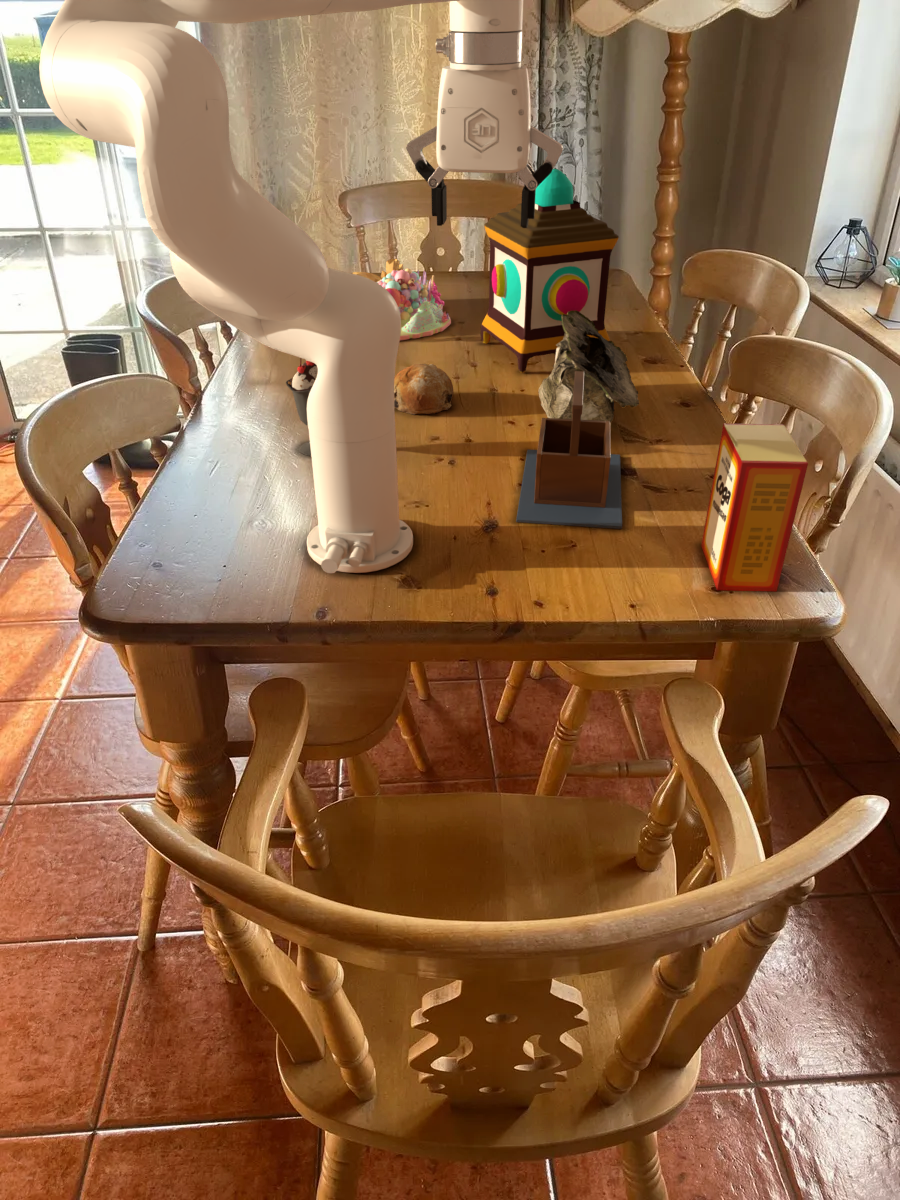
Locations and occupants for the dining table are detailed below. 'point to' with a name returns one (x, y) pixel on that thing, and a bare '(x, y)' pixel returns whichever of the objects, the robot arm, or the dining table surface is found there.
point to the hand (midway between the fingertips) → (483, 224)
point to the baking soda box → (752, 506)
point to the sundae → (303, 394)
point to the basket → (573, 457)
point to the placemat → (566, 513)
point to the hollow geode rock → (587, 373)
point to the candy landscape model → (413, 300)
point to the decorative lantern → (546, 271)
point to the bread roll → (422, 390)
